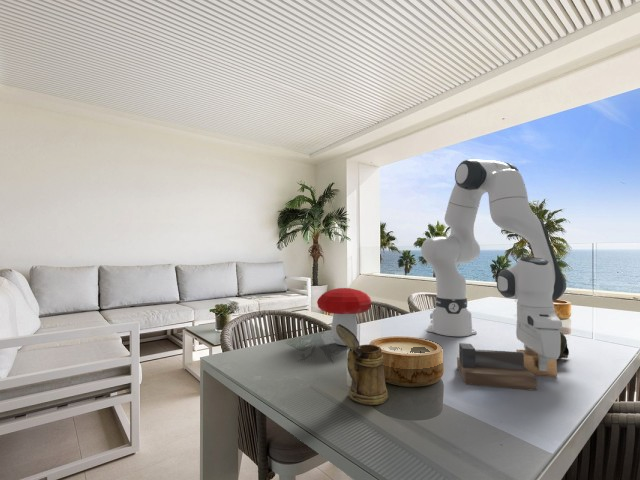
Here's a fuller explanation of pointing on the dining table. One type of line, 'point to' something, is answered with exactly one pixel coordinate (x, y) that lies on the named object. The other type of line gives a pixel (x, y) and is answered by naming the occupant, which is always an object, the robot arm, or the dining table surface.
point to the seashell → (563, 347)
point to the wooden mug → (364, 370)
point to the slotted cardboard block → (532, 360)
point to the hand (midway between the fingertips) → (535, 365)
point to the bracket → (494, 368)
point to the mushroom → (344, 308)
